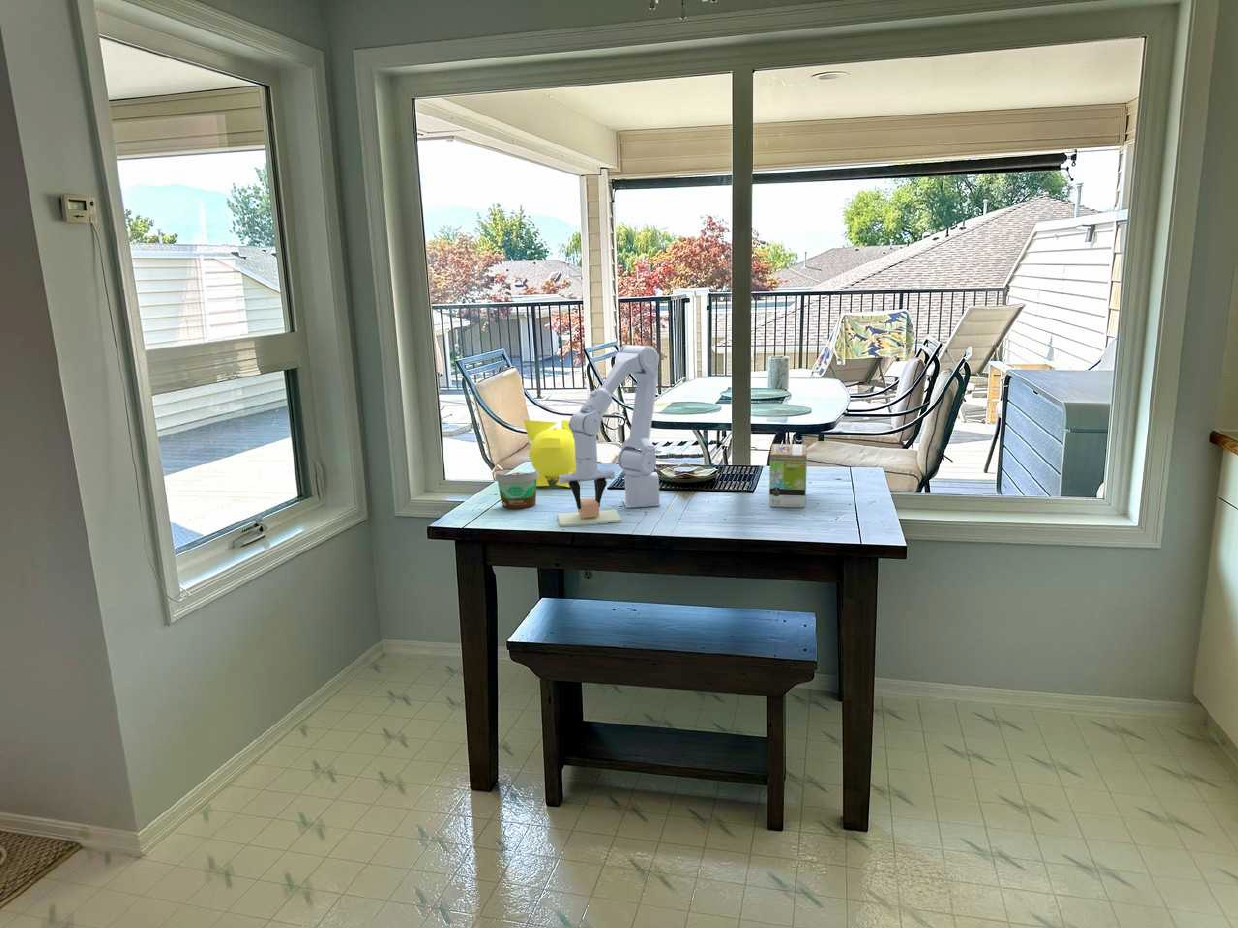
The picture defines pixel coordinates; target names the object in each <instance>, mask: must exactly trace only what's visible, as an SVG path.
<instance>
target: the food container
mask: <svg viewBox="0 0 1238 928" xmlns="http://www.w3.org/2000/svg"><path fill="white" fill-rule="evenodd" d="M537 478H539V475H538V471H537V469H536V470H535V471H532V472H512V473H509V474H501V473H498V472H496V474H495V478H494V479H495V481H496V482H497V484H498V490H499V494H500V495H499V496H500V500H501V507H502V508H504V509H505V510H513V511H515V510H517V511H518V510H525V509H530V508H533V507H534V506H536V501H537V500H536V498H537V497H536V496H537V486H536V479H537Z"/></svg>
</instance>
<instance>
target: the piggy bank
mask: <svg viewBox="0 0 1238 928" xmlns="http://www.w3.org/2000/svg"><path fill="white" fill-rule="evenodd" d="M523 422H524V426H525V431H526V433H527V437H528V438H527V439H528V440H530V441H531V444H530V450H529V456H528V457H529V460H530V463H531V466H532V467H533V469H534V470H535V471H536V469H537V471H538V475H539V478H537V479H536V487H549V486H550V484H549V482H550V481H551V480H558V481H557V482H556V483H555V485H556V486H559V487H561V486H562V487H566V488H570V486H569V484H568V483H565V484H560V482H559V475H566V474H571V473H576V463H575V444H574V438H573V434H572V431H571V430H570V428H569V425H568V423H570V420H565V419H561V428H557V427H554V426H555V425H557V424H558V422H554V421H542V420H540V421H539V420H529V419H527V420H526V419H524V420H523ZM552 427H554V428H552Z"/></svg>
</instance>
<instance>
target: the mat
mask: <svg viewBox="0 0 1238 928" xmlns="http://www.w3.org/2000/svg"><path fill="white" fill-rule="evenodd" d="M557 519H558V523H559V527H561V528H562V527H573V526H587V525H598V523H601V524H609V523H608V522H615V523H622V518H621V516H620V514H619V513H618V510H617V509H606V510H605V509H604V510H602V509H601V510H599V516H598V517H588V518H582V517H581V515H580V514H579V512H578V511H577V512H565V513H564V512H562V513H557Z"/></svg>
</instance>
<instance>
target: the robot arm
mask: <svg viewBox="0 0 1238 928" xmlns="http://www.w3.org/2000/svg"><path fill="white" fill-rule="evenodd" d="M656 350H657V349H655V348H654V347H653V346H650V345H647V346H643V345H630V344H625V345H622V346H621V347H620V348H619V351H618V352H617V353H616V354H615V363H614V364H613V366H612V368H611V369H610V371H609V372H608V375H607V377H606V378H605V380H604V382H603V383H602V385H601V387H599V388H595V389H593V390H591V392H590V393H589V397H588V398H587V400H586V401H585V402H584V404H583V405H582V406H581V407H580V409H579V411H576V412H574V413H573V414H572V415H571V417H570V420H569V421H570V423H568V425H569V428H570V430H571V431H572V434H573V438H574V444H575V463H576V473H571V474H566V475H559V479H558V480H559V482H560V484H565V483H568V484H569V486H570V487H569V488H570V489H571V492H572V494H573V498H574V500H575V503H576V508H577V510H578V509H581V500H580V499H581V484H580V482H589V481H593V483H594V495H595V496H594V498H595V500H596V501H597V502H598V503H599V508H600V507H601V501H602V496H603V495H604V494H603V493H604V491H605V489H606V486H607V483H608V481H607V480H609V479H610V480H615V477H616V476H615V475H616V474H615V471H614V470H598V453H597V452H598V451H597V433H598V432H599V431H600V430H601V429H600V428H601V425H602V420H603V417H604V415H605V413H606V412H607V410H608V409H609V407H610V406H611V404H612V403H613V397H612V395H613V394H614V392H616V391H617V389H618V387H620V385H621V384H622V383H623V381H624V380H625V379H626V378H627V376H628V375H632V376H633V378H634V379H635V380H636V388H635V396H634V402H633V410H632V418H631V422H630V423H631V425H630V430H629V436H628V438H627V439H625V440H624V441H623V442H622V444H621V449H620V452H619V453H618V457H617V463H618V466H619V468H621V469H622V473H624V474H623V475H624V476H623V477H624V493H625V494H624V496H625V498H623V499H622V502H623V504H624V507H625V508H626V509H629V508H630V509H631V508H634V509H635V508H645V507H647V508H648V507H659V506H660V505H661V503H660V481H659V475H658V472H657V471H654V470H655V468H656V465H657V457H656V447H655V445H654V444H653V443H652V442H651V441H650V436H651V429H652V428H651V427H652V420H653V414H654V408H655V400H656V392H657V388H658V387H657V386H658V378H659V374H658V373H659V372H658V367H659V360H660V355H659V353H658V352H657V351H656Z"/></svg>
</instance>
